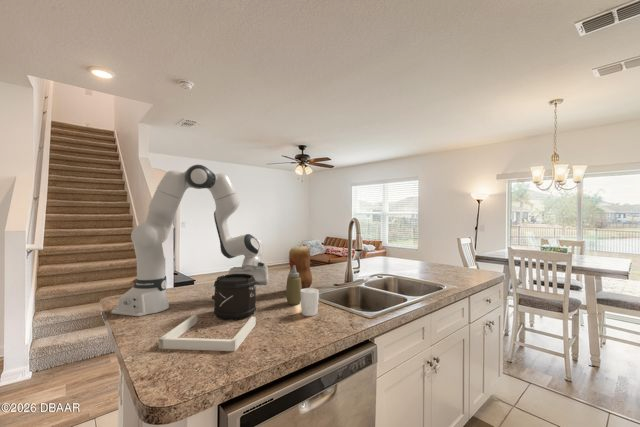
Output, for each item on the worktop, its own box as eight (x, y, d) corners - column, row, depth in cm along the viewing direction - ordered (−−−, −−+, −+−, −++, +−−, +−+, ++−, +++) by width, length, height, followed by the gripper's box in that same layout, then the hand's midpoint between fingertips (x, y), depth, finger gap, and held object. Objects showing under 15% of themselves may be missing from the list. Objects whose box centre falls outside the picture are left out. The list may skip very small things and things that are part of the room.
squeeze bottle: (305, 303, 144) (306, 265, 144) (293, 306, 138) (293, 267, 138) (294, 299, 149) (294, 263, 149) (281, 303, 143) (282, 265, 143)
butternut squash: (282, 291, 165) (282, 245, 165) (301, 287, 174) (301, 244, 174) (298, 296, 155) (299, 248, 155) (317, 291, 164) (317, 246, 164)
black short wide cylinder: (212, 309, 134) (212, 274, 134) (253, 305, 140) (253, 272, 139) (211, 323, 117) (210, 283, 117) (257, 318, 122) (257, 280, 122)
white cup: (321, 312, 131) (321, 289, 131) (313, 317, 124) (313, 293, 124) (305, 309, 134) (305, 287, 134) (297, 315, 127) (297, 291, 127)
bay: (158, 348, 96) (158, 339, 96) (193, 322, 118) (193, 314, 118) (235, 351, 94) (235, 341, 94) (255, 324, 116) (255, 316, 116)
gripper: (228, 263, 150) (220, 287, 140) (269, 264, 148) (264, 288, 138) (232, 270, 154) (224, 294, 144) (271, 271, 153) (266, 295, 143)
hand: (244, 291), depth 141 cm, fingers closed
